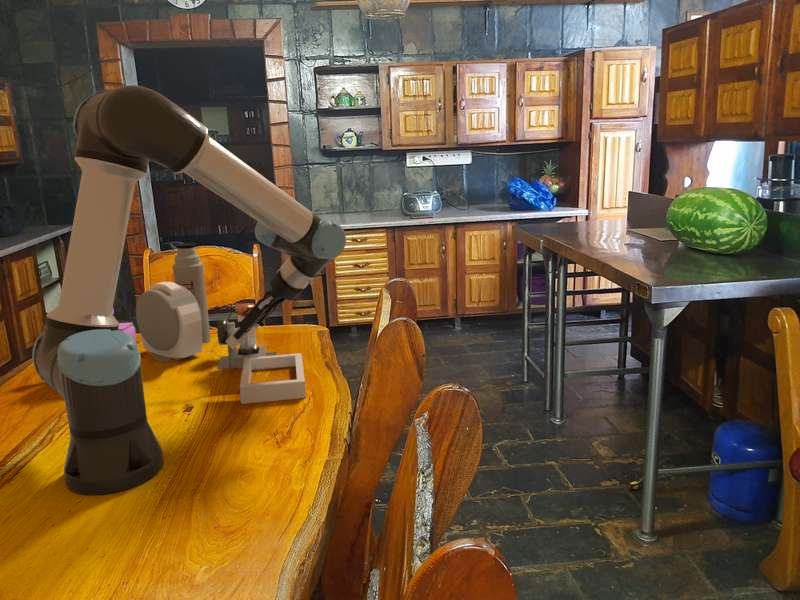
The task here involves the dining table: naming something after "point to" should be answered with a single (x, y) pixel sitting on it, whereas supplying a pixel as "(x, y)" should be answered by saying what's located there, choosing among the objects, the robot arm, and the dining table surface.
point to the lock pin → (249, 341)
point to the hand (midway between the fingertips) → (234, 342)
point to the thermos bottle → (192, 280)
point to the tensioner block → (234, 356)
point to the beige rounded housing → (169, 322)
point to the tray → (275, 388)
